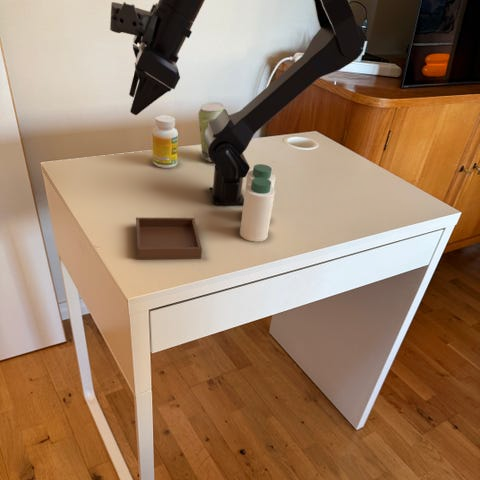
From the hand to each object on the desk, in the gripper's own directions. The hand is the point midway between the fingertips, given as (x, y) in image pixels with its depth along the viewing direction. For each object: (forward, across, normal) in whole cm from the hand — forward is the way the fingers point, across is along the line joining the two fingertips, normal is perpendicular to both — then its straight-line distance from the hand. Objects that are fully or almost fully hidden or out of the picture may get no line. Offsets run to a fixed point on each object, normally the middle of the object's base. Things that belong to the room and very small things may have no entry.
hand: (132, 104), depth 76 cm
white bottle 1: (+5, +8, +27) cm, 29 cm away
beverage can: (+7, -19, +24) cm, 31 cm away
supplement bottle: (+12, -16, +14) cm, 24 cm away
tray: (+13, +16, +12) cm, 24 cm away
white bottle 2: (+6, +14, +26) cm, 30 cm away
